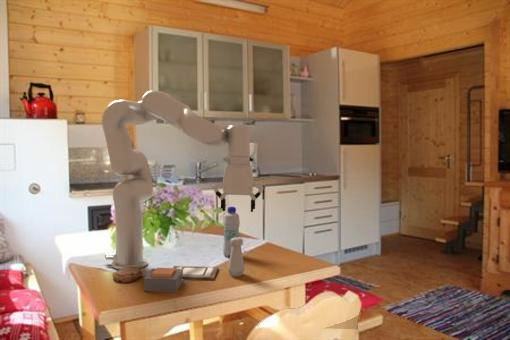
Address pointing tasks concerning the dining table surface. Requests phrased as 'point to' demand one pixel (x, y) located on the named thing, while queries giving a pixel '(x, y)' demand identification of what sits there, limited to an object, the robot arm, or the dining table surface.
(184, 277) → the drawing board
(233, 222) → the bottle
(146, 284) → the button housing
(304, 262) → the dining table surface
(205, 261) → the dining table surface
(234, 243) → the salt shaker
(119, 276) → the cookie
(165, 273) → the button
